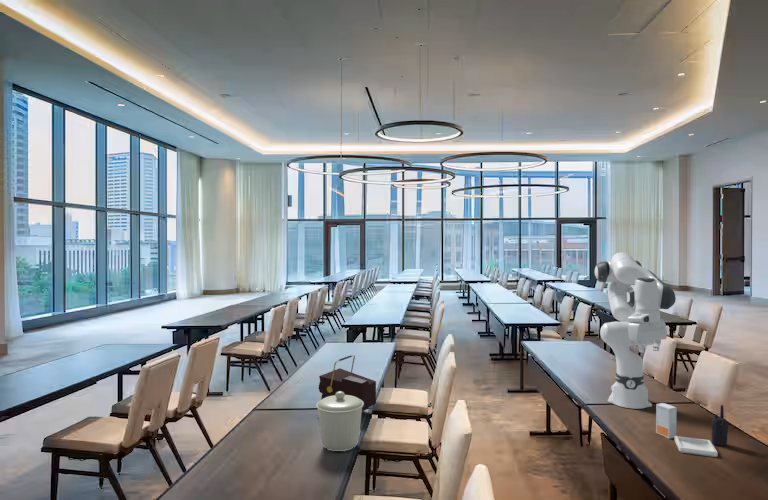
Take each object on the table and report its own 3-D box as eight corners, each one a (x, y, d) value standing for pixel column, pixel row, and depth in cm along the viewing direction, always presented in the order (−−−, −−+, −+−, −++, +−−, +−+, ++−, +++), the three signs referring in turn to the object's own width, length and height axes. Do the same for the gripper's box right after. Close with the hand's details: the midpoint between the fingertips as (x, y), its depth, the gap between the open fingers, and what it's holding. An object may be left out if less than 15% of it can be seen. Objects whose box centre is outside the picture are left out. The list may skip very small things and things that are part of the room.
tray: (674, 440, 191) (674, 435, 191) (709, 444, 187) (709, 440, 187) (680, 452, 181) (680, 447, 180) (717, 457, 176) (717, 452, 176)
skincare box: (655, 433, 198) (655, 403, 198) (663, 431, 200) (663, 402, 200) (669, 439, 193) (669, 408, 192) (676, 437, 194) (677, 407, 194)
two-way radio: (723, 442, 189) (723, 403, 189) (731, 447, 184) (732, 407, 184) (709, 442, 189) (709, 403, 188) (717, 447, 184) (717, 407, 184)
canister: (320, 459, 177) (320, 401, 176) (313, 440, 194) (312, 387, 193) (369, 453, 182) (369, 396, 181) (358, 434, 199) (357, 382, 199)
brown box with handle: (338, 403, 238) (338, 351, 237) (379, 411, 226) (379, 357, 226) (317, 413, 224) (316, 358, 223) (359, 422, 212) (359, 364, 211)
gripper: (655, 316, 210) (657, 349, 209) (624, 317, 200) (626, 352, 199) (670, 316, 204) (672, 350, 203) (639, 318, 194) (641, 354, 193)
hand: (649, 351), depth 201 cm, fingers open, 8 cm apart
